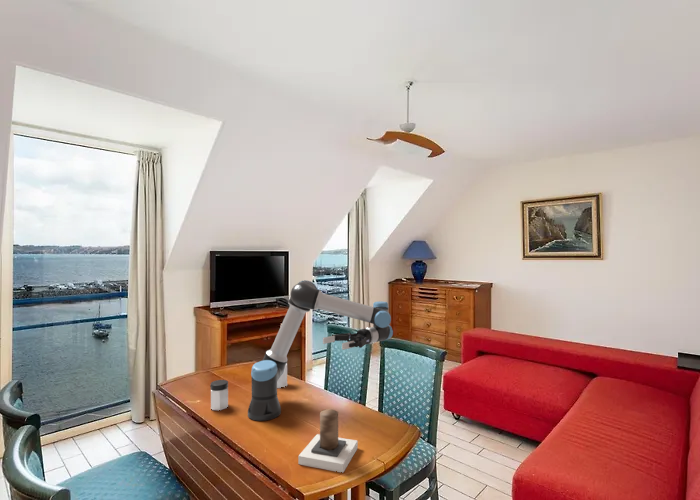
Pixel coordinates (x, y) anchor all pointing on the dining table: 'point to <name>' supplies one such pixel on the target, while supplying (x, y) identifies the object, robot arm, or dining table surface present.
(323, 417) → the peg
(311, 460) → the frame
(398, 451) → the dining table surface
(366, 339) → the robot arm
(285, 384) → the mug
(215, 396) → the jar
